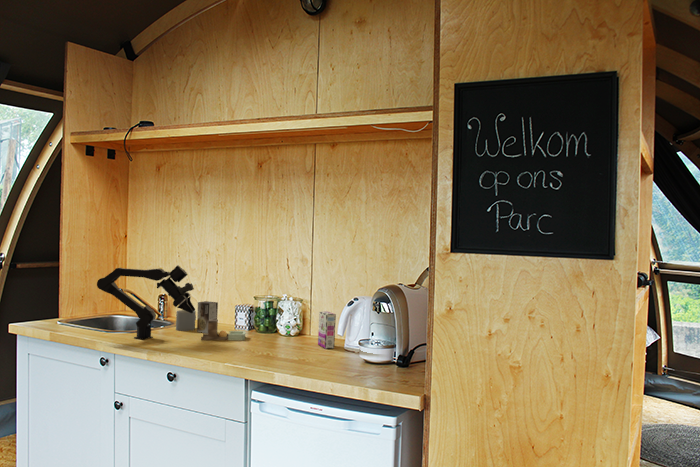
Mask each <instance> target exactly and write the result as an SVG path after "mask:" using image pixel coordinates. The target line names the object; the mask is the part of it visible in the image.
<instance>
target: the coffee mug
mask: <svg viewBox="0 0 700 467" xmlns="http://www.w3.org/2000/svg"><path fill="white" fill-rule="evenodd" d="M196 316H197V314H196V310H195V311H193V313H189V312H187V311H185V310H182V309H179V310H176V316H175V317H176V318H175V331H179V332H188V331H189V330H191V331H195V330H194V329H196V319H197V317H196ZM189 332H190V331H189Z"/></svg>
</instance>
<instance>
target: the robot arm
mask: <svg viewBox="0 0 700 467" xmlns="http://www.w3.org/2000/svg"><path fill="white" fill-rule="evenodd" d="M187 276H188V273H187V271H186V270H185V269H184V268H182V267H181V266H179V264H178V265H176V266H175V267H174V268H173V269H172V270H171V271H166V270H164V269H162V268H152V269H151V268H150V269H149V268H148V269H140V268H139V269H137V268H123V267H117V268H115V269H113V270H112V271H111V272H110V273H108V274H107V275H105V276H104V277H101V278H99V279H98V280H97V282H96V287H97V288H98V289H99V290H101V291H102V292H104V293H108V294H110V295H112V296H113V297H115V299H117V300H119V302H121V303H122V304H124V305H125V306H126V307H127V308H129V309H130V310H132V311H133V312H134V314H136V316H137V317H138V320H137V321H136V322H135V324H136V336H134V337H133V339H138V340H147V339H153V338H154V336H152V326H151V324H152V323H153V322H154V321H155V319H156V318H157V317H156V316H157V314H156V312H155V309H154V308H153V309H152V308H151V307H150V306H149V305H148V304H147V305H145V306H144V305H142V304H140V303H139V302H137V300H135V299H133V297H131V296H129V294H127V293H126V292H124V291H123V290H122V289H121V288H120V287H119V286H118V285H117V284H116V282H117V280H118V279H119V278H121V277H134V278H144V279H147V280H153V281H156V288H157V289H160V288H162V289H163V290H164V291H165V292H166V293H167V296H169V297H171V299H173V302H172V305H173V306H174V307H175V308H177V309H179V310H185V311H187V312H189V313H193V311H196V308H195V307H194V306H195V305H193V303H192V301H191V297H192V296H191V294H190V292H191V291H194V290H195V287H194V285H193V284H192V283H190V282H187V283H185V284H184V286H182V287H181V286H180V285H177V284H176V283H177V282H178V283H180V282H181V281H183V279H185V278H186V277H187ZM157 281H159V282H157Z"/></svg>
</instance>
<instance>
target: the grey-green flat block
mask: <svg viewBox="0 0 700 467" xmlns="http://www.w3.org/2000/svg"><path fill="white" fill-rule="evenodd" d="M227 334H228V340H227V341H245V340H246V330H230V331H229V333H227Z"/></svg>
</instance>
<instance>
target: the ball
mask: <svg viewBox="0 0 700 467" xmlns="http://www.w3.org/2000/svg"><path fill="white" fill-rule="evenodd" d="M218 334H219V337H226V336H227V334H228V333H227V332H226V330H220V331H219V332H218Z"/></svg>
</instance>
